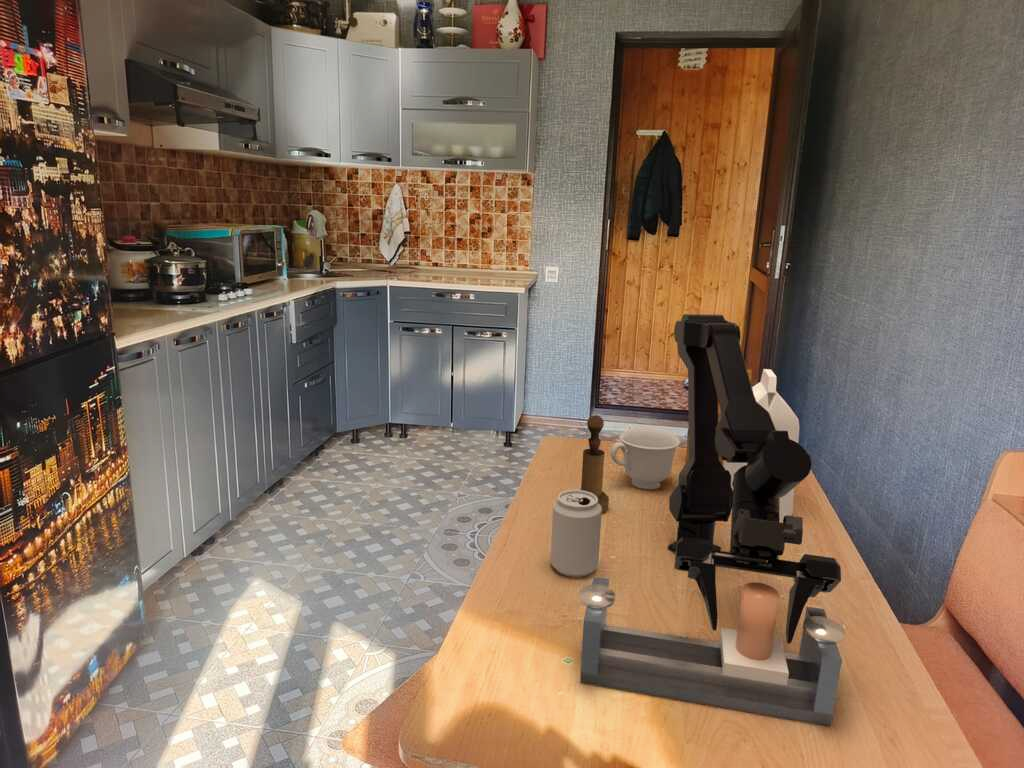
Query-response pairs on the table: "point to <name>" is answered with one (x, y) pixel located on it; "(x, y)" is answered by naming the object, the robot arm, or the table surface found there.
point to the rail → (708, 665)
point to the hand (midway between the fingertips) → (751, 636)
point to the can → (575, 533)
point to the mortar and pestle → (594, 463)
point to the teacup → (646, 455)
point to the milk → (782, 422)
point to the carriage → (755, 638)
